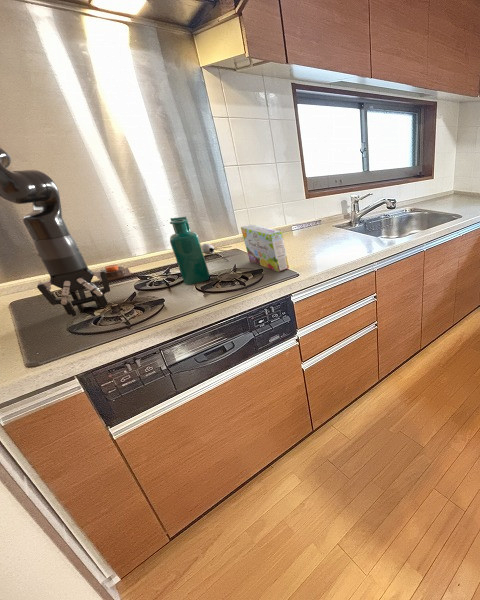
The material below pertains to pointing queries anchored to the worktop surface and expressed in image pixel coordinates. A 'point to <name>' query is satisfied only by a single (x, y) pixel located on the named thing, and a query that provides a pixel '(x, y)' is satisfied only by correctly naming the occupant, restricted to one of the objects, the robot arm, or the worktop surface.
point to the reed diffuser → (210, 249)
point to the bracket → (81, 306)
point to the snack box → (265, 247)
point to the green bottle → (188, 252)
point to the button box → (117, 274)
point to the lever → (83, 299)
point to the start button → (111, 268)
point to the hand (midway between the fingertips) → (89, 310)
